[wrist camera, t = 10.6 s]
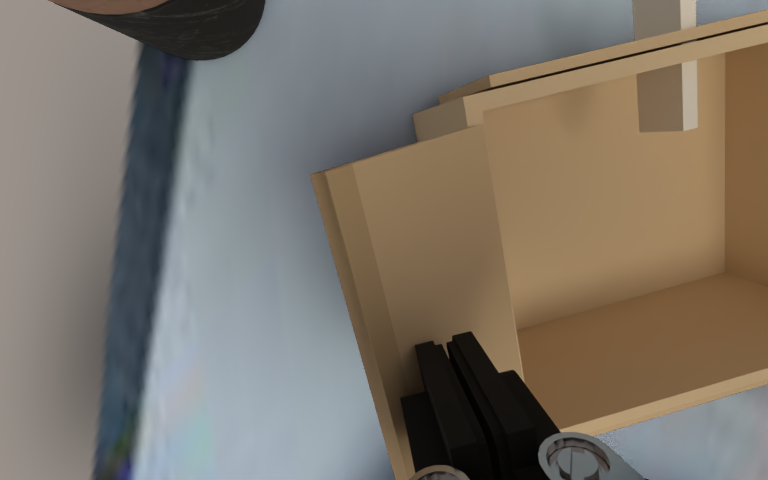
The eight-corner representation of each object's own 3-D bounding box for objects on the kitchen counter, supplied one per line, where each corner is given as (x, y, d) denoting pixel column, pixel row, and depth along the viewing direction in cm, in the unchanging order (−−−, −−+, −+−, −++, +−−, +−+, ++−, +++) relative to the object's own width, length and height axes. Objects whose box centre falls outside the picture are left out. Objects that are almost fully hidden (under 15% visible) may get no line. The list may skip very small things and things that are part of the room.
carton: (725, -12, 22) (970, -108, 14) (724, 281, 27) (905, 346, 19) (401, 62, 21) (448, 8, 13) (460, 355, 26) (523, 461, 18)
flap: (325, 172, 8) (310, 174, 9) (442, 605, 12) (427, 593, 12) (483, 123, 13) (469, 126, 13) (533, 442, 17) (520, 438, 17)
